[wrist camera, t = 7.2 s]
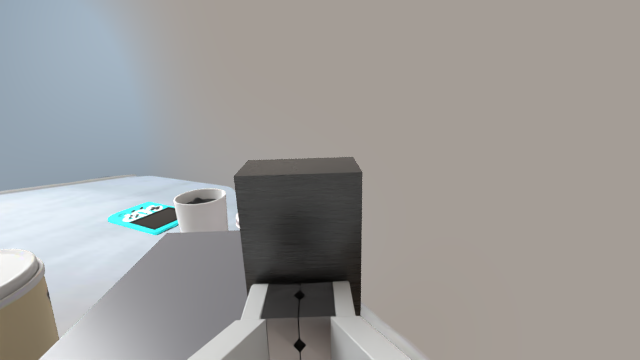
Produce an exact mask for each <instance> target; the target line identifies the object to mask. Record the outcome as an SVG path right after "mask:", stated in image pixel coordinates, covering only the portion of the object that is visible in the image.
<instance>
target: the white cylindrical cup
mask: <svg viewBox="0 0 640 360" xmlns="http://www.w3.org/2000/svg"><path fill="white" fill-rule="evenodd" d="M173 202H174V207H175V211H176V215H177V220H178V224H179V228H180V233H184V232H212V231H228V220H227V206H226V192H225V191H223V190H221V189H212V188H206V189H197V190H193V191H188V192H185V193H182V194H180V195H178V196H176V197H175V198H174V200H173Z"/></svg>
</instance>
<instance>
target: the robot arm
mask: <svg viewBox="0 0 640 360" xmlns="http://www.w3.org/2000/svg"><path fill="white" fill-rule="evenodd" d="M187 360H412V359H410V358H409V357H408V356H407V355H406V354H404V353H403V352H402V351H401V350H400V349H399V348H397V347H396V346H395V345H394V344H393V343H392V342H390V341H389V340H388V339H387V338H386V337H385V336H383V335H382V334H381V333H380V332H379V331H378V330H376V329H375V328H374V327H373V326H372V325H371V324H369V323H368V322H367V321H366V320H365V319H363V318H362V317H361V316H356V315H355V310H354V305H353V299H352V294H351V289H350V284H349V282H348V281H335V282H323V283H303V284H301V285H300V283H275V284H253V285H252V286H251V288H250V292H249V295H248V298H247V301H246V304H245V307H244V310H243V314H242V317H241V320H235V321H234V322H233V323H232V324H230V325H229V326H228V327H227V328H226V329H224V330H223V331H222V332H221V333H219V334H218V335H217V336H216V337H214V338H213V339H212V340H211V341H209V342H208V343H207V344H206V345H204V346H203V347H202V348H201V349H200V350H198V351H197V352H196V353H195V354H193V355H192V356H191V357H190V358H188V359H187Z"/></svg>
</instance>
